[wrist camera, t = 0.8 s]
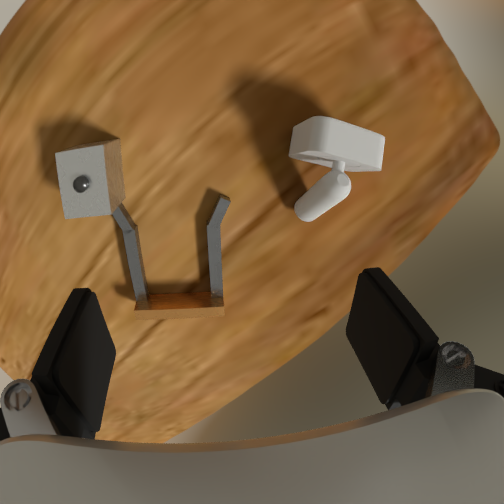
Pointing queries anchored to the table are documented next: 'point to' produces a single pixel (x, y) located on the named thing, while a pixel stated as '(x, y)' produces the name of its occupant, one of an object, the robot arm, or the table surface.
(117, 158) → the block
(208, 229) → the receiver
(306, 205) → the white jointed piece
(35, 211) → the table surface
